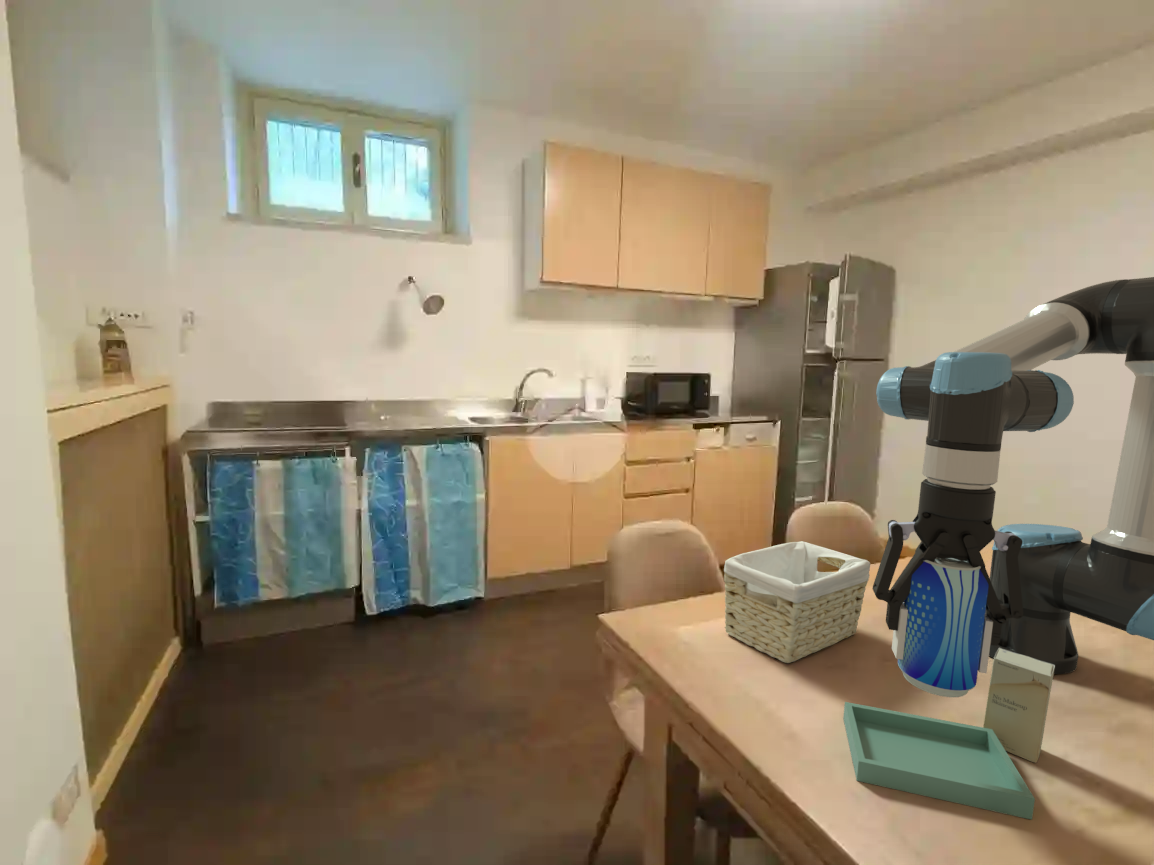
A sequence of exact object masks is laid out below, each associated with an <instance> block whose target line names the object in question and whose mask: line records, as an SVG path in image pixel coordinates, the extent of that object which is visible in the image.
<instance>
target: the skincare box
mask: <svg viewBox="0 0 1154 865" xmlns="http://www.w3.org/2000/svg"><path fill="white" fill-rule="evenodd" d="M1054 669H1055V665H1053V664H1050V663H1047V662H1044V661H1040V660H1037V659H1034V658H1031V657H1028V656H1025V655H1021V654H1018V653H1014V652H1011V651H1008V650H1005V649H1002V648H999V649H998V650H997V652H996V654H995V657H994V658H993V662H992V669H991V674H990V675H991V676H990V679H989V680H990V681H989V685H988V686H989V687H988V694H987V695H988V696H987V700H986V706H985V714H984V720H983V726H982V727H983V728H988V729H992V730H993V731H994V733H995V735H996V736H997V738H998V740H999V741H1000V743H1001V744H1002V746H1003V748H1004V749H1005V751H1006V753H1010V754H1013V755H1015V756H1016V757H1020V758H1023V759H1024V760H1027V761H1029V762H1032V763H1035V764H1037V763H1038V760H1039V757H1040V754H1041V749H1042V744H1043V738H1044V732H1045V727H1046V726H1045V725H1046V720H1047V716H1048V710H1049V703H1050V698H1051V691H1052V685H1053V680H1054V679H1053V678H1054V675H1055V674H1054Z"/></svg>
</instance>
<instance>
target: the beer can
mask: <svg viewBox="0 0 1154 865" xmlns="http://www.w3.org/2000/svg"><path fill="white" fill-rule="evenodd" d="M980 568H981V566H978V567H975V568H973V567H972V566H971V565H970V564H969V563H968V562H967V561H961V560H957V559H954V558H945V559H944V558H937V557H936V559H935V560H934V562H931V561H929V560H924V562H923V563H922V565H921V566H920V567H919V568H918V569H917V570H916V571H915V572H914V573H913V575H912V579H911V588H910V594H909V595H908V596H907V598H906V599H905V601H904V605H905V607H906V608H907V609H908V616H907V625H906V635H905V644H904V653H903V660H902V659H897V665H898V667H899V669H900V670H901V672H902V675H903V677H904V679H905V680H906V681H907V682H908V683H909V684H911V685H912V686H913V687H916V688H917V689H919V690H921V691H924V692H926V693H929V694H932V695H936V696H938V697H946V698H961V697H964V696H966V695H967V694H968V692H969V691H972V690H973V689H975V687H976V685H977V681H978V673H979V671H978V666H979V658H980V650H981V642H982V634H983V626H984V619H985V611H986V603H987V595H988V583H987V581H986V579H985V577H984V576H983V574H982V572H981V570H980Z"/></svg>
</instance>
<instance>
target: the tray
mask: <svg viewBox="0 0 1154 865" xmlns="http://www.w3.org/2000/svg"><path fill="white" fill-rule="evenodd" d="M843 707H844V708H843V717H842V718H843V723H844V727H845V728H844V729H845V732H846V738H847V741H848V746H849V752H850V756H851V760H852V764H853V770H854V774H855V779H856V782H861V783H865V784H870V785H875V786H879V787H883V788H888V789H893V790H896V791H902V792H906V793H910V794H915V795H919V796H924V797H929V798H933V799H936V800H937V799H938V800H942V801H946V802H951V803H954V804H955V803H956V804H959V805H965V806H969V807H972V808H973V807H974V808H979V809H983V810H987V811H991V812H995V813H1000V814H1005V815H1010V816H1014V817H1019V818H1022V819H1027V820H1031V821H1032V820H1033V816H1034V815H1033V814H1034V808H1035V800H1036V798H1035V797H1034V795H1033V793H1032V792H1031V790H1030V788H1029V787H1028V785H1027V783H1026V782H1025V780H1024V778H1023V777H1022V776H1021V774H1020V772H1019V771H1018V768H1016V766H1015V764H1014V762H1013V760H1012V759H1011V757H1010V756H1009V754H1008V752H1007V751H1005V749H1004V748H1003V746H1002V744H1001V743H1000V741H999V740H998V738H997V736H996V735H995V733H994V731H993V730H992V729H988V728H983V726H977V725H971V724H966V723H961V722H955V721H950V720H946V719H945V720H943V719H938V718H934V717H928V716H923V715H920V714H913V713H907V712H902V711H897V710H896V711H895V710H891V709H885V708H880V707H875V706H870V705H865V704H864V705H863V704H858V703H852V702H848V701H844V706H843Z"/></svg>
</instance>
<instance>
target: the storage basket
mask: <svg viewBox="0 0 1154 865" xmlns="http://www.w3.org/2000/svg"><path fill="white" fill-rule="evenodd" d="M724 562H725V563H724V566H723V567H724V568H723V572H724V576H723V581H724V590H725V596H724V603H725V608H724V613H725V614H724V615H725V616H724V619H725V620H724V623H725V626H724V629H725V633H727V634H728V635H729V636H730V637H731V636H732V637H734V638H735V639H736V640H738V641H740V642H743V643H744V644H745V645H748V646H750V647H754V648H755V649H756V650H757V651H760V652H761V653H765V654H767V655H768V656H769V657H771V658H774V659H777V660H779V661H780V662H783V663H785V664H790V663H793V662H796V661H799V660H800V659H802V658H804V657H805V658H806V657H807V656H808V655H811V654H814V653H817V652H819V651H821V650H823V649H825V648H827V647H832V646H834V645H835V644H837V643H839V642H840V641H842V640H844V639H848V638H849V637H851V636H854V635H855V634H857V630H858V622H859V619H860V616H861V612H862V607H863V606H862V605H863V602H864V597H865V593H866V589H867V588H866V587H867V585H868V581H869V579H870V569H871V562H870V561H868V559H864V558H859V557H856V556H853V555H850V554H846V553H843V552H840V551H837V550H833V549H830V548H827V547H824V546H820V545H817V544H813V543H809V542H806V541H803V540H802V541H801V540H800V541H792V542H786V543H781V544H780V543H779V544H777V545H773V546H769V547H764V548H760V549H756V550H752V551H748V552H743V553H740V554H737V555H735V556H732V557H730V558H728V559H726V560H725V561H724ZM819 562H821V563H823V564H827V565H830V566H833V567H836V568H837V569H838V571H833V572H832V571H825V572H824V571H818V565H819V564H818V563H819Z"/></svg>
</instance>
